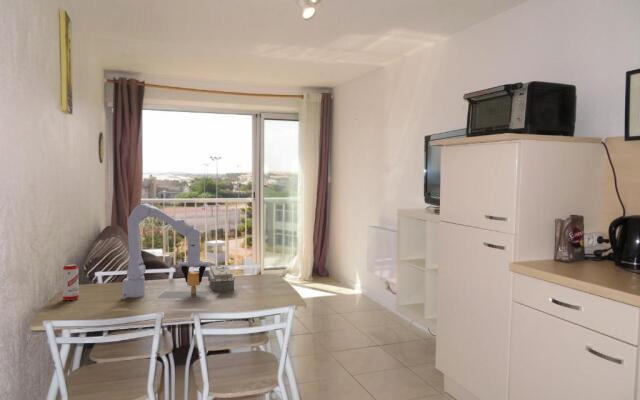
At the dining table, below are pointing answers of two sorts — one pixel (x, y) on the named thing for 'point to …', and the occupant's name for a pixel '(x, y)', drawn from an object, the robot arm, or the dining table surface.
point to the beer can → (70, 282)
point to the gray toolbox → (221, 278)
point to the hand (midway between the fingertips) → (193, 282)
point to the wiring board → (185, 294)
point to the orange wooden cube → (193, 279)
